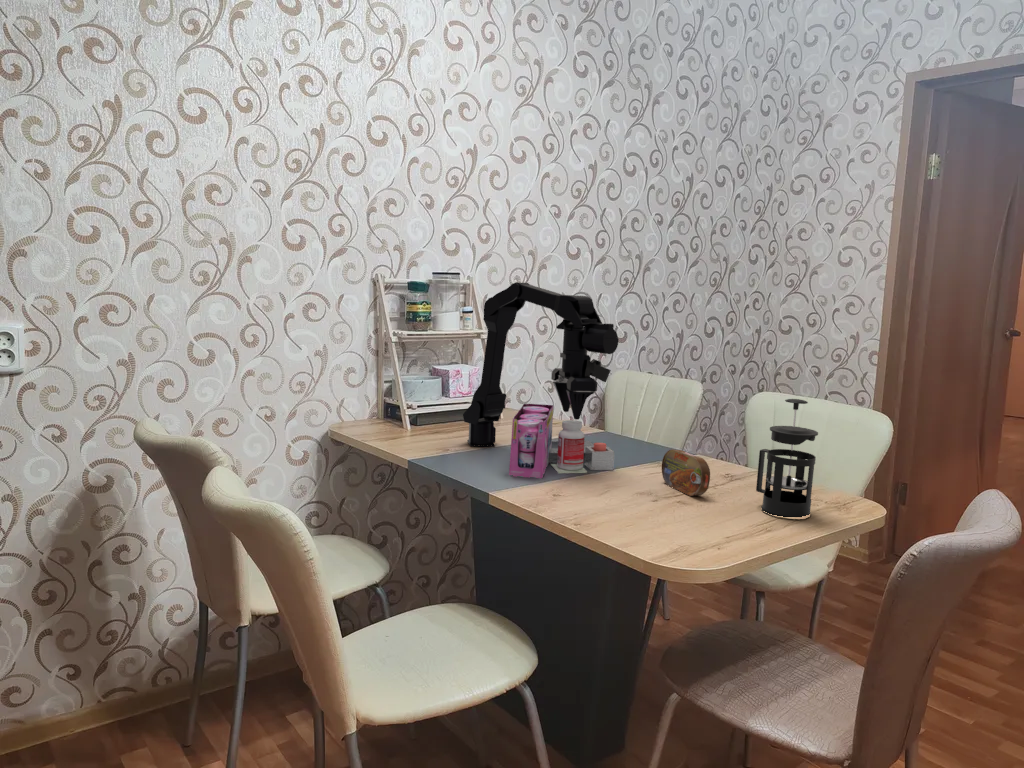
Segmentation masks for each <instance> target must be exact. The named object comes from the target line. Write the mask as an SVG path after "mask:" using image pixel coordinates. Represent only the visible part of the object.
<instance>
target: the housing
mask: <svg viewBox="0 0 1024 768" xmlns="http://www.w3.org/2000/svg"><path fill="white" fill-rule="evenodd" d="M614 462H615V451H614V449H613V450H612V449H611V448H610V447H609V446H607V445H606V451H594V446H585V463H584V466H586V468H588V469H589V470H590V471H613V470H614V464H615V463H614Z"/></svg>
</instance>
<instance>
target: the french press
mask: <svg viewBox="0 0 1024 768" xmlns="http://www.w3.org/2000/svg"><path fill="white" fill-rule="evenodd" d="M784 401H785V402H786V403H792V404H793V407H792V409H793V410H794V413H793V425H773V426H770V427H769V431H770V432H771V435H770V437H771V438H770V439H771V441H773V442H776V443H779V444H785V445H790V449H786V448H776V449H768V448H767V449H766V448H763V449H762V448H761V449H760V450H759V455H758V463H757V466H758V467H757V478H756V487H755V489H756V490H755V491H756V492H758V493H761V494H763V495H762V505H761V507H760V509H761V508H762V510H763V511H765V512H767V513H769V514H772V515H777V516H783V517H802V516H806V515H809V514H810V513H811V507H812V499H811V498H812V488H813V481H814V480H813V479H814V470H815V464H816V456H815V454H812V453H809V452H805V451H801V450H795V449H794V446H799V445H801V444H803V443H805V441H809V442H814V441H815V440H816V437H817V436H818V435H819V432H818V431H817V430H815V429H811V428H807V427H800V426H796V419H797V411H799V406H800V404H801V405H806V404H809V402H808V401H807V400H804V399H799V398H787V399H785V400H784ZM766 454H767V455H766ZM765 456H766V457H765ZM782 456H785V457H782ZM786 456H787V457H789V458H786ZM793 457H795V458H796V459H795V458H793ZM765 458H766V459H767V463H766V464H767V465H766V474H765V475H766V476H765V485H764V488H763V479H764V478H763V477H764V468H765V467H764V466H765ZM773 464H774V472H773ZM785 466H788V475H787V476H785V475H784V467H785ZM792 467H795V475H794V477H793V476H792V475H791V473H792V472H791V471H792ZM806 467H808V472H807V474H808V475H807V480H805V469H806ZM772 473H773V474H772ZM772 475H773V476H772ZM771 487H772V490H771ZM803 491H805V492H806V493H805V494H803ZM762 510H761V511H762Z"/></svg>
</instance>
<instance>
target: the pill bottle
mask: <svg viewBox="0 0 1024 768" xmlns="http://www.w3.org/2000/svg"><path fill="white" fill-rule="evenodd" d="M561 428H562V430H560V431H558V435H557V439H558V440H557V441H558V459H557V463H556V464H557V466H558V467H559V468H561V469H565V470H579V469H582V468H584V463H583V459H584V441H585V438H586V437H585V433H584V432H583V430H581V429H583V422H582V421H580V420H575V419H574V420H573V419H572V420H570V419H569V420H566V419H565V420H563V421H562V423H561Z"/></svg>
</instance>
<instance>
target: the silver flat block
mask: <svg viewBox="0 0 1024 768" xmlns="http://www.w3.org/2000/svg"><path fill="white" fill-rule="evenodd" d="M585 446H594V443H593V442H591V440H584V459H583V464H585ZM557 459H558V440H552V446H551V449H550V452H549V460H548V464H552V463H551V462H556V463H555V464H557Z"/></svg>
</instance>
